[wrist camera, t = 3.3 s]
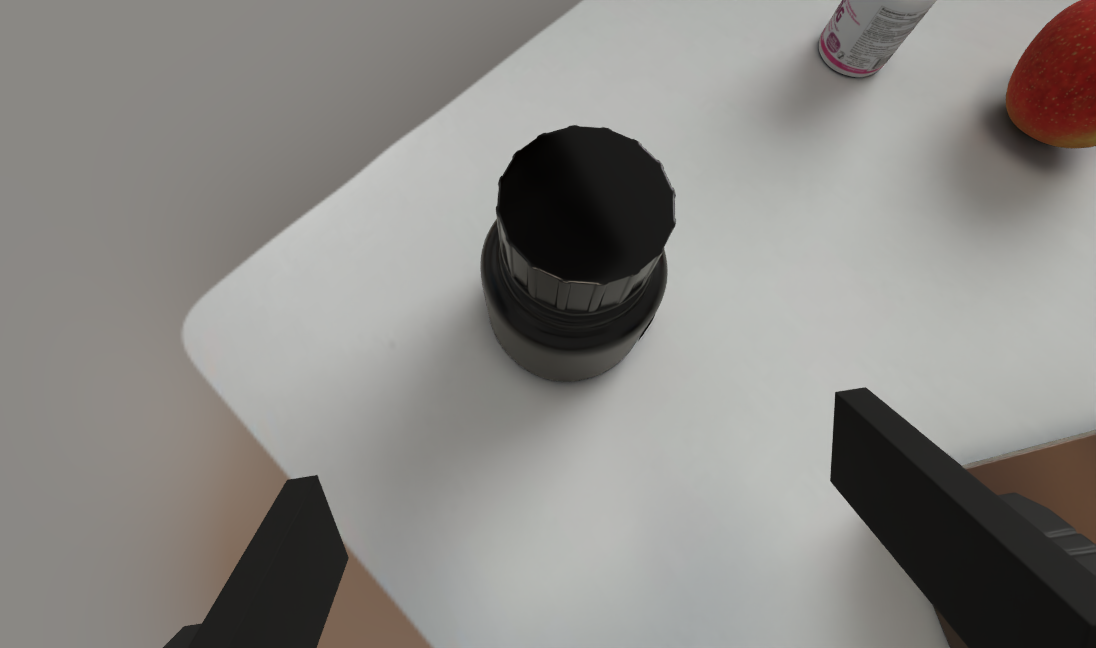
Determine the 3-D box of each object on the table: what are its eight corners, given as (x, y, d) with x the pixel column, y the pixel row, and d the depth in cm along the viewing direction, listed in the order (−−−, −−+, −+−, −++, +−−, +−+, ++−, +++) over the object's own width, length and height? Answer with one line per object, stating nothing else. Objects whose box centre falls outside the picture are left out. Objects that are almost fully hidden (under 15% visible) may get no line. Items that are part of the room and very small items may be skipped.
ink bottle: (677, 331, 32) (760, 235, 21) (554, 421, 30) (570, 372, 19) (576, 208, 34) (600, 60, 23) (455, 285, 32) (416, 166, 21)
